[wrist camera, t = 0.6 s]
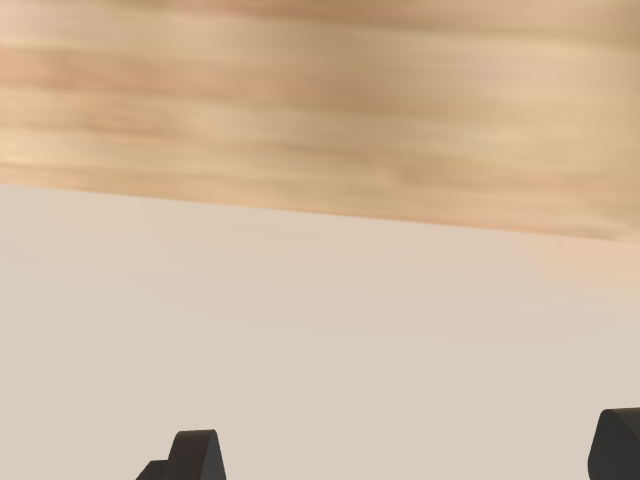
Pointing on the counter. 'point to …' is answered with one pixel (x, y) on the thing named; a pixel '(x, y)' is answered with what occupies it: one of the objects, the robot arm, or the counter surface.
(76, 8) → the counter surface
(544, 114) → the counter surface
